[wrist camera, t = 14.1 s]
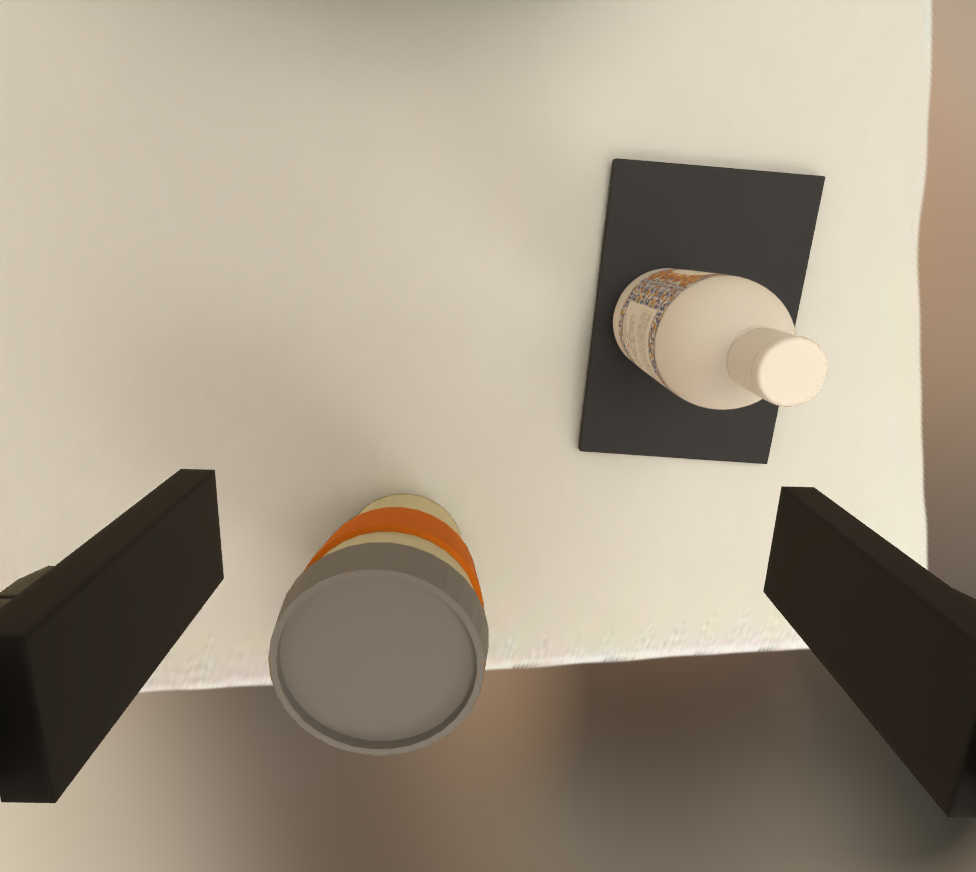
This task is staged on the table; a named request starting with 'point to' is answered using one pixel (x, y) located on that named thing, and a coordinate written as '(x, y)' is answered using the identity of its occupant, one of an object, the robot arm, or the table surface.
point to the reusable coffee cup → (383, 632)
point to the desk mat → (698, 247)
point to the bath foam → (716, 340)
